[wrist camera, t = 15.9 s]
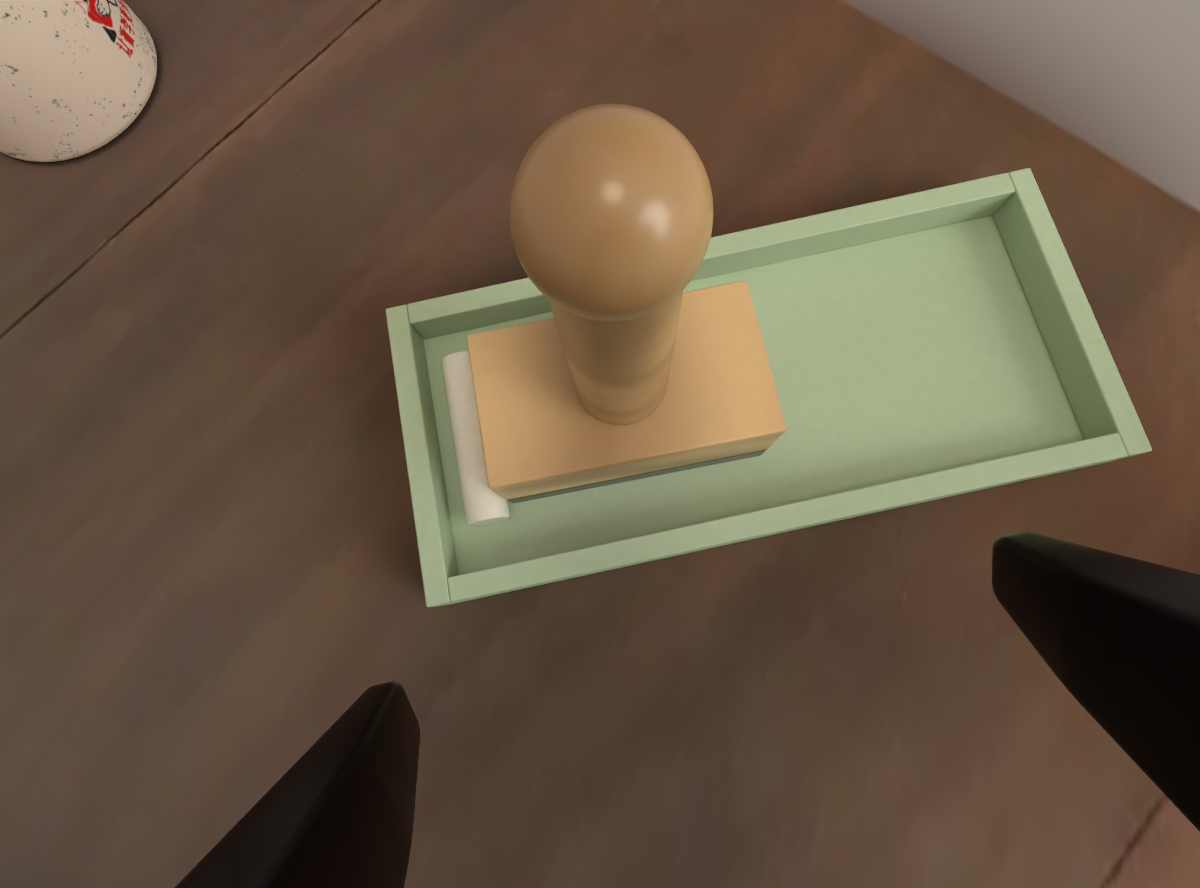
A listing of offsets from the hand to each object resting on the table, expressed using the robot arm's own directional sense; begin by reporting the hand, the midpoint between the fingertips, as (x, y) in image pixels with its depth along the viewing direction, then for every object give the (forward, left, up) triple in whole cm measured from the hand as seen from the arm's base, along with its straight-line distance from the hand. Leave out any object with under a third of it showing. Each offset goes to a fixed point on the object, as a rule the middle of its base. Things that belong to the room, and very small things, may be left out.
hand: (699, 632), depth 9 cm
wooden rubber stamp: (+5, -5, -12) cm, 14 cm away
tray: (+2, -8, -12) cm, 15 cm away
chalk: (+8, -2, -11) cm, 13 cm away
